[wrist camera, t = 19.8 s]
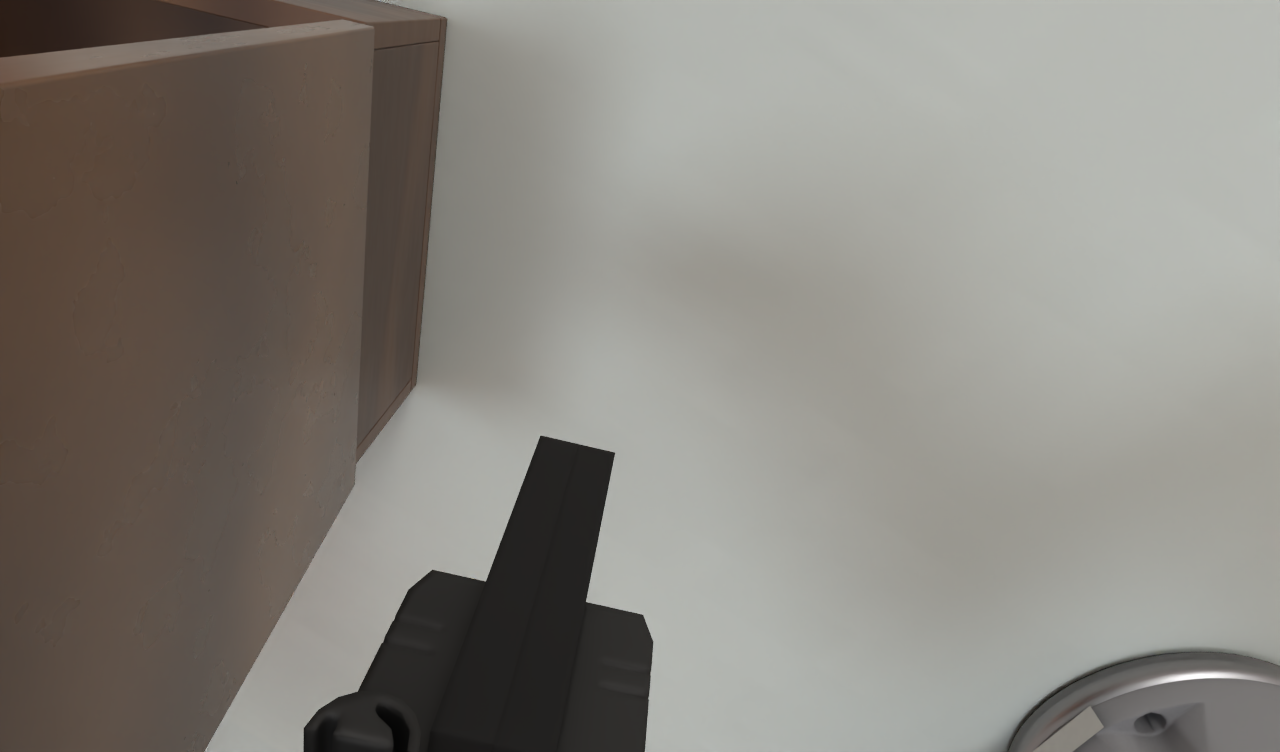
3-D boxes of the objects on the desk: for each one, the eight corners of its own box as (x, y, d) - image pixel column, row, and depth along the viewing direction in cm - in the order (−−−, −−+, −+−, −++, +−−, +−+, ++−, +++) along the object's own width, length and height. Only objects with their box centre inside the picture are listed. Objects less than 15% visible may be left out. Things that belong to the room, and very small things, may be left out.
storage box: (33, 297, 31) (-128, 367, 25) (-39, -100, 24) (-280, -134, 18) (416, 385, 31) (348, 474, 25) (447, 18, 25) (366, 22, 19)
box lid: (-156, 1264, 10) (-85, 1268, 10) (-1129, 178, 3) (-889, 221, 3) (329, 480, 25) (355, 484, 25) (340, 18, 18) (375, 26, 18)
